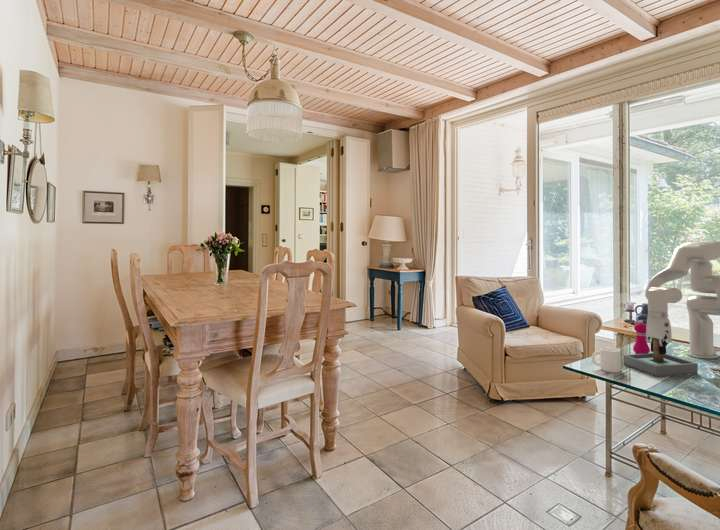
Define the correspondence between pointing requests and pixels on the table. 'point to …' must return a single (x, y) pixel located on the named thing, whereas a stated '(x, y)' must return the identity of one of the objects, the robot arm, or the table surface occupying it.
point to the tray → (662, 368)
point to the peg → (657, 352)
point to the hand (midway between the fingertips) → (658, 352)
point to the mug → (608, 359)
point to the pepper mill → (640, 339)
